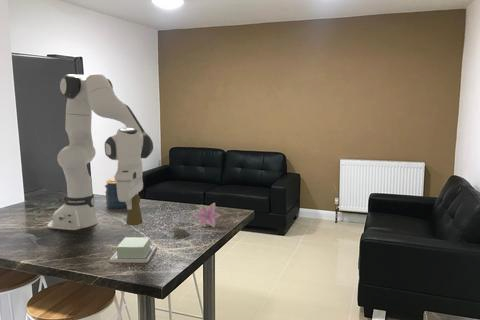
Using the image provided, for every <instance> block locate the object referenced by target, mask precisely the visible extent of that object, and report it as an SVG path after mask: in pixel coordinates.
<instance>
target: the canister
mask: <svg viewBox="0 0 480 320" xmlns="http://www.w3.org/2000/svg"><path fill="white" fill-rule="evenodd" d="M116 184H117V181H115V175H114V177H111V178H109V179H108V180H106V184H105V185H104V187H105V191H104V193H105V205H106V207H107V208H109V209H112V210H114V209H123V208H127V205H126V202H120V201H119V200H118V196H117V186H116Z"/></svg>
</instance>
